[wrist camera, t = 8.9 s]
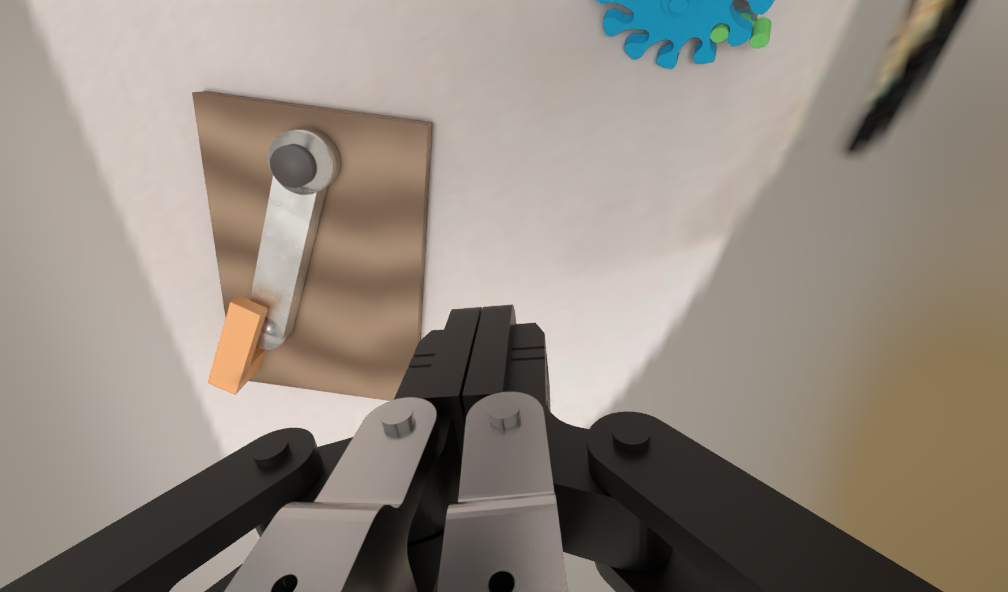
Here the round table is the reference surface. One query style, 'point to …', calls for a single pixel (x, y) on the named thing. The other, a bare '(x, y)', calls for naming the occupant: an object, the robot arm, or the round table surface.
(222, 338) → the block
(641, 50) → the gear
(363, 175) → the base plate
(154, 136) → the round table surface
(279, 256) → the lever
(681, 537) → the robot arm
